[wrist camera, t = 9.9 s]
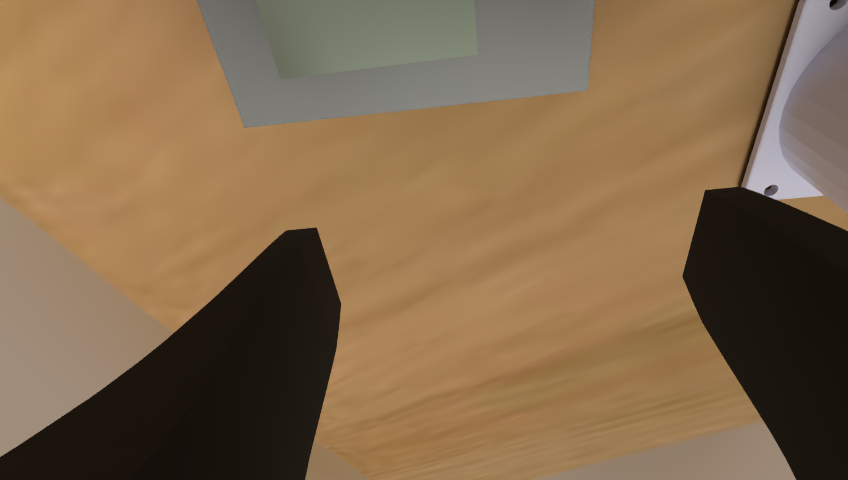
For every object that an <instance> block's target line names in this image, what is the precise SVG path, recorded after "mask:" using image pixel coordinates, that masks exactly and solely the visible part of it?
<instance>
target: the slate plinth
mask: <svg viewBox="0 0 848 480" xmlns="http://www.w3.org/2000/svg"><path fill="white" fill-rule="evenodd" d="M197 2H198V5H199V7H200V10H201V13H202V15H203V18H204V21H205V23H206V26H207V29H208V32H209V34H210V37H211V40H212V42H213V45H214V48H215V50H216V53H217V56H218V58H219V61H220V64H221V66H222V69H223V72H224V74H225V77H226V80H227V82H228V85H229V88H230V90H231V93H232V96H233V98H234V101H235V104H236V107H237V109H238V112H239V115H240V117H241V120H242V123H243V125H244V128H247V127H257V126H266V125H275V124H284V123H293V122H303V121H312V120H321V119H330V118H339V117H349V116H358V115H367V114H376V113H385V112H395V111H404V110H413V109H422V108H431V107H441V106H450V105H459V104H468V103H477V102H487V101H496V100H505V99H514V98H523V97H533V96H542V95H551V94H560V93H569V92H579V91H588V79H589V66H590V54H591V41H592V29H593V16H594V4H595V0H475V16H476V32H477V48H478V55H471V56H463V57H455V58H447V59H439V60H431V61H423V62H415V63H407V64H399V65H391V66H383V67H375V68H367V69H360V70H352V71H344V72H336V73H328V74H320V75H312V76H304V77H296V78H288V79H280V76H279V73H278V69H277V66H276V63H275V60H274V57H273V53H272V50H271V47H270V44H269V40H268V37H267V34H266V31H265V28H264V24H263V21H262V18H261V15H260V12H259V8H258V5H257V2H256V0H197Z"/></svg>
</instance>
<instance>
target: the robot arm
mask: <svg viewBox="0 0 848 480" xmlns="http://www.w3.org/2000/svg"><path fill="white" fill-rule="evenodd" d="M830 1H831V0H800V1H799V3H798V6H797V10H796V13H795V16H794V19H793V22H792V26H791V29H790V32H789V35H788V38H787V42H786V45H785V48H784V51H783V54H782V58H781V61H780V64H779V67H778V70H777V74H776V77H775V80H774V83H773V86H772V89H771V93H770V96H769V99H768V102H767V105H766V109H765V112H764V115H763V118H762V121H761V125H760V128H759V131H758V134H757V137H756V141H755V144H754V147H753V150H752V153H751V157H750V160H749V163H748V166H747V169H746V173H745V176H744V179H743V182H742V185H741V187H733V188H723V189H713V190H705V193H704V197H703V201H702V204H701V208H700V212H699V216H698V219H697V223H696V227H695V231H694V235H693V238H692V242H691V246H690V250H689V254H688V257H687V261H686V265H685V269H684V272H683V279H684V281H685V284H686V286H687V288H688V291H689V293H690V296H691V298H692V301H693V303H694V305H695V307H696V309H697V312H698V314H699V316H700V318H701V320H702V323H703V324H704V326H705V328H706V329H707V331H708V333H709V334H710V336H711V338H712V339H713V341H714V342H715V344H716V346H717V347H718V349H719V351H720V352H721V354H722V355H723V357H724V359H725V360H726V362H727V364H728V365H729V367H730V368H731V370H732V371H733V373H734V375H735V376H736V378H737V379H738V381H739V383H740V384H741V386H742V387H743V389H744V391H745V392H746V394H747V395H748V397H749V398H750V400H751V402H752V403H753V405H754V406H755V408H756V410H757V411H758V413H759V414H760V416H761V418H762V419H763V421H764V422H765V424H766V425H767V427H768V429H769V430H770V432H771V434H772V435H773V437H774V439H775V441H776V442H777V444H778V446H779V448H780V449H781V451H782V453H783V455H784V456H785V458H786V460H787V462H788V464H789V466H790V468H791V470H792V472H793V474H794V476H795V478H796V480H848V231H846V230H844V229H842V228H839V227H837V226H835V225H833V224H830V223H828V222H826V221H824V220H821V219H819V218H817V217H814V216H812V215H810V214H808V213H805V212H803V211H801V210H799V209H796V208H794V207H792V206H789V205H787V204H785V203H782V202H780V201H778V199H790V198H802V197H815V196H826V197H827V198H828V199H829V200H831V201H832V202H833V203H834V204H836V205H837V206H838V207H839V208H841V209H842V210H843V211H844V212H846V213H847V214H848V0H838V1H837V3H836V4H834V5H833V6H832V7H829V5H830ZM771 185H772V187H771V188H770V189H769V190H767V191H764V190H765V189H766V188H767V187H768V186H771ZM340 310H341V302H340V299H339V296H338V293H337V290H336V286H335V283H334V280H333V277H332V274H331V271H330V268H329V265H328V262H327V258H326V255H325V252H324V249H323V246H322V243H321V240H320V237H319V234H318V230H317V228H308V229H297V230H287V231H285V232H284V233H283V234H282V235H280V236H279V237H278V238H277V239H276V240H275V241H274V242H273V243H271V244H270V245H269V246H268V247H267V248H266V249H265V250H264V251H263V252H262V253H261V254H260V255H259V256H258V257H257V258H256V259H255V260H254V261H253V262H252V263H250V264H249V265H248V266H247V267H246V268H245V269H244V270H243V271H242V272H241V273H240V274H239V275H238V276H237V277H236V278H235V279H234V280H233V281H232V282H230V283H229V284H228V285H227V286H226V287H225V288H224V289H223V290H222V291H221V292H220V293H219V294H218V295H217V296H216V297H215V298H213V299H212V300H211V301H210V302H209V303H208V304H207V305H206V306H204V307H203V308H202V309H201V310H200V311H199V312H198V313H196V314H195V315H194V316H193V317H192V318H191V319H190V320H188V321H187V322H186V323H185V324H184V325H183V326H181V327H180V328H179V329H178V330H177V331H176V332H175V333H173V334H172V335H171V336H170V337H169V338H168V339H167V340H166V341H164V342H163V343H162V344H161V345H159V346H158V347H157V348H156V349H154V350H153V351H152V352H151V353H149V354H148V355H147V356H146V357H144V358H143V359H142V360H141V361H139V362H138V363H137V364H135V365H134V366H133V367H132V368H130V369H129V370H127V371H126V372H125V373H123V374H122V375H121V376H119V377H118V378H117V379H115V380H114V381H113V382H111V383H110V384H109V385H107V386H106V387H105V388H103V389H102V390H101V391H99V392H98V393H96V394H95V395H93V396H92V397H91V398H89V399H88V400H86V401H85V402H83V403H82V404H80V405H79V406H77V407H76V408H74V409H73V410H71V411H70V412H68V413H67V414H65V415H64V416H62V417H61V418H59V419H58V420H56V421H55V422H53V423H52V424H50V425H49V426H47V427H46V428H44V429H43V430H42V431H40V432H38V433H37V434H35V435H34V436H33V437H31V438H29V439H28V440H26V441H25V442H23V443H22V444H20V445H19V446H17V447H16V448H14V449H12V450H11V451H9V452H8V453H6V454H4V455H3V456H1V457H0V480H305V477H306V472H307V467H308V463H309V457H310V453H311V449H312V445H313V441H314V437H315V433H316V429H317V425H318V421H319V417H320V413H321V409H322V405H323V402H324V398H325V394H326V390H327V386H328V381H329V377H330V373H331V369H332V365H333V361H334V356H335V352H336V347H337V339H338V330H339V321H340Z"/></svg>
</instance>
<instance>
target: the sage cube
mask: <svg viewBox="0 0 848 480" xmlns="http://www.w3.org/2000/svg"><path fill="white" fill-rule="evenodd" d="M256 2H257V5H258V8H259V12H260V15H261V18H262V21H263V24H264V28H265V31H266V34H267V37H268V40H269V44H270V47H271V50H272V53H273V57H274V60H275V63H276V66H277V69H278V73H279V76H280V79H288V78H296V77H304V76H312V75H320V74H328V73H336V72H344V71H352V70H360V69H367V68H375V67H383V66H391V65H399V64H407V63H415V62H423V61H431V60H439V59H447V58H455V57H463V56H471V55H478V48H477V32H476V16H475V0H256Z"/></svg>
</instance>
